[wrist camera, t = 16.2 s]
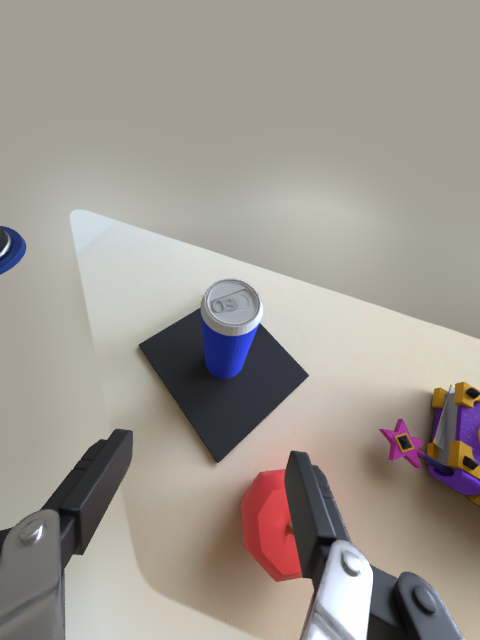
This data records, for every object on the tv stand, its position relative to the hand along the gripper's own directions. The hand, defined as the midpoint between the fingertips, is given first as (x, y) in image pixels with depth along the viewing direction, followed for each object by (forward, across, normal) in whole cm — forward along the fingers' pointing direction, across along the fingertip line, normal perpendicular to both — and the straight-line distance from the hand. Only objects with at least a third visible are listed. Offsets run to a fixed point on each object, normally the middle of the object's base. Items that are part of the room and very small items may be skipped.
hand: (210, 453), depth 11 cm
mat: (+20, 0, +5) cm, 20 cm away
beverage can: (+19, 0, +4) cm, 20 cm away
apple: (+9, -7, +16) cm, 19 cm away
